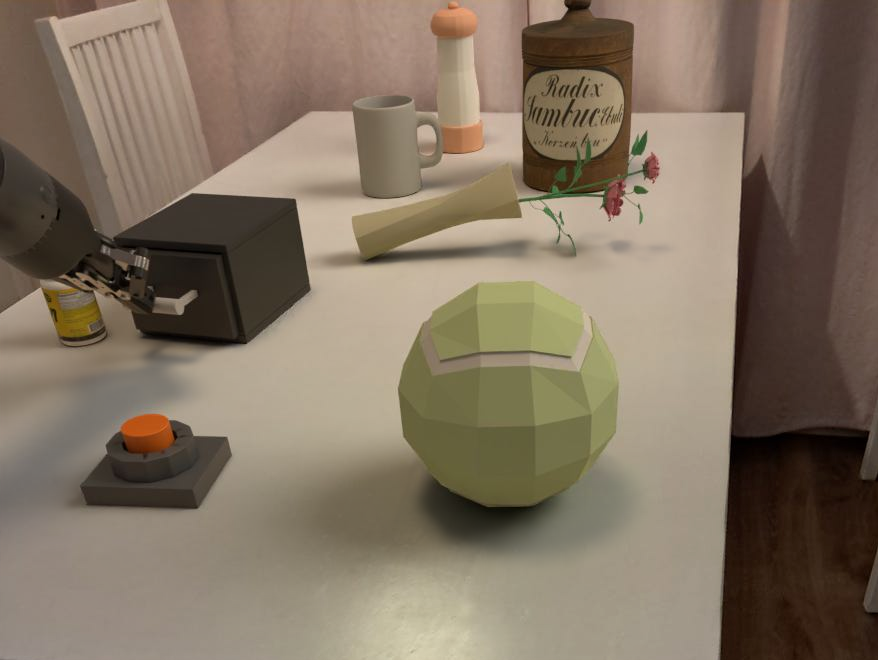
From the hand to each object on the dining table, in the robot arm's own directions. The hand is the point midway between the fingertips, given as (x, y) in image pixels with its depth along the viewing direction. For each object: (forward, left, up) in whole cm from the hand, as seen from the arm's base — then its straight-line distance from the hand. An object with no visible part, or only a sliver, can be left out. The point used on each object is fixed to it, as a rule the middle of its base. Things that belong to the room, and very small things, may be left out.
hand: (147, 304), depth 87 cm
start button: (+8, -22, -3) cm, 23 cm away
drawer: (+2, +9, -5) cm, 10 cm away
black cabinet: (+2, +12, -6) cm, 14 cm away
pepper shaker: (+18, +78, -6) cm, 81 cm away
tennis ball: (+36, -22, -6) cm, 43 cm away
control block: (+8, -22, -6) cm, 24 cm away
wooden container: (+37, +60, -6) cm, 71 cm away
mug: (+13, +56, -6) cm, 58 cm away
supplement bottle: (-11, +5, -6) cm, 13 cm away
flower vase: (+30, +30, -6) cm, 43 cm away
